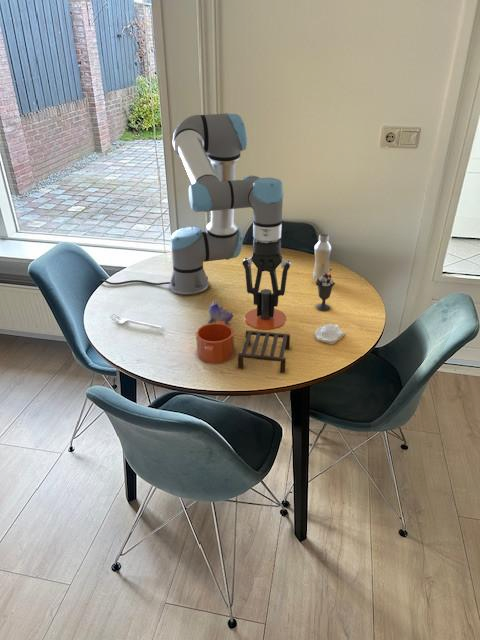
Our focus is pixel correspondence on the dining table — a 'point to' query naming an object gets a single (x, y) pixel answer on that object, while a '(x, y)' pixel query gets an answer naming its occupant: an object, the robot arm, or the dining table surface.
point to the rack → (262, 355)
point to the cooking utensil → (131, 321)
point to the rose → (329, 333)
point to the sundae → (324, 290)
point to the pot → (215, 342)
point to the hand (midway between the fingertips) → (265, 314)
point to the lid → (265, 314)
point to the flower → (219, 314)
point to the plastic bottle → (321, 257)
